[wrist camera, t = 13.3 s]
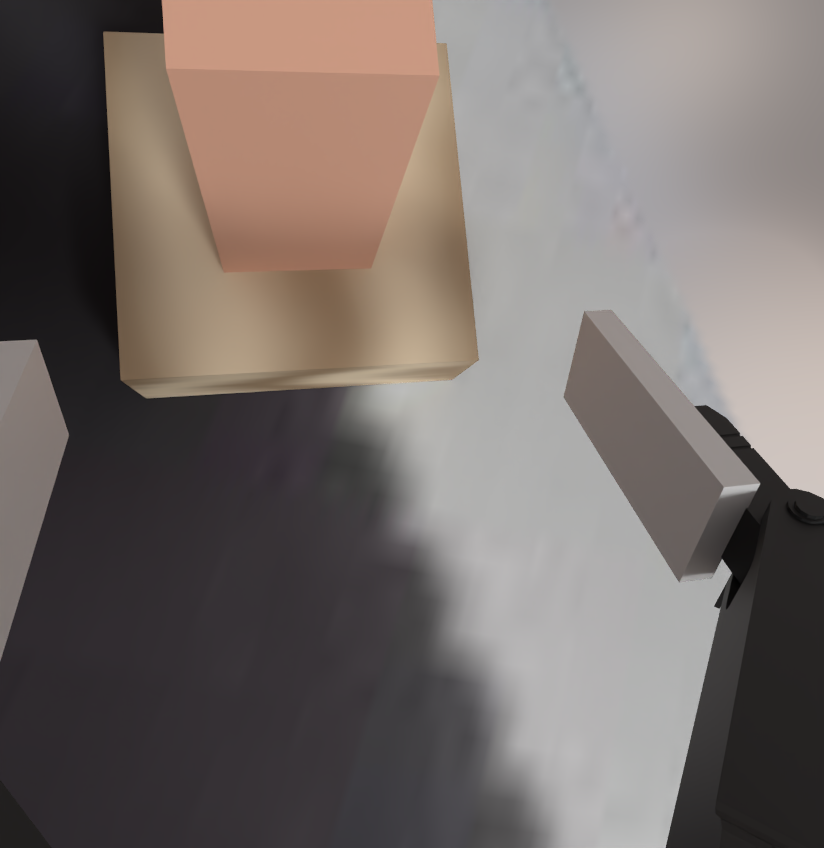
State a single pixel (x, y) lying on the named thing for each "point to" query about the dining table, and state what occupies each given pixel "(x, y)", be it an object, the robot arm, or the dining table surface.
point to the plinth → (275, 290)
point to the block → (300, 121)
